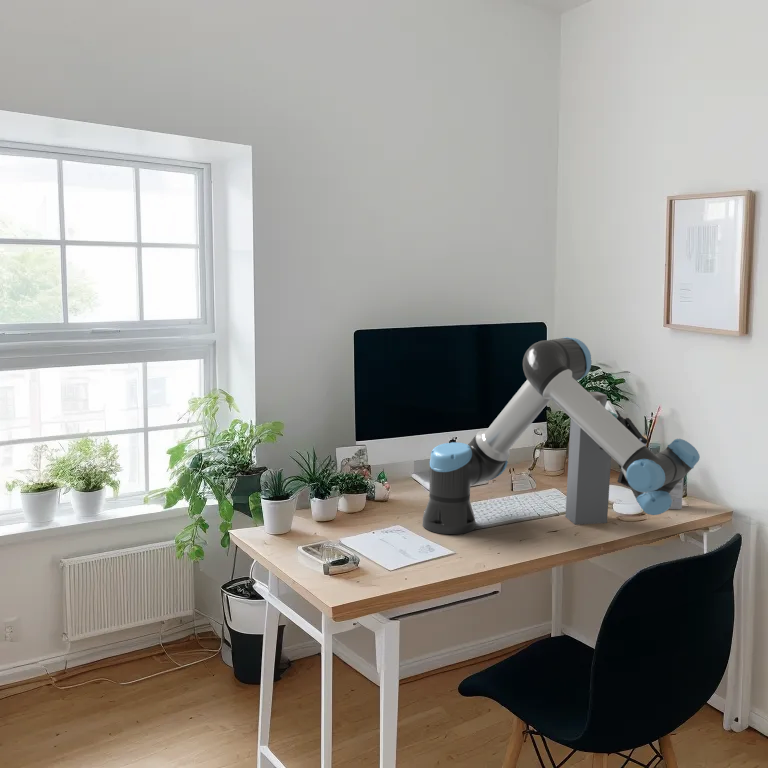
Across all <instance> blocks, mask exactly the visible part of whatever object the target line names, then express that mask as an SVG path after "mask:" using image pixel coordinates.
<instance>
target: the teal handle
mask: <svg viewBox="0 0 768 768" xmlns="http://www.w3.org/2000/svg"><path fill="white" fill-rule="evenodd" d="M588 392H589V393H590V394H591V395H592V396H593V397H594V398H595V399H596V400H597V401H599V402H600V403H601V405H602V406H603V407H605V405H606V403H607V401H608V400H607V399H608V395H607V394H605V393H602V392H599V391H588ZM609 412H610V411H609ZM610 413H611V414H612V415H613V416H614V417H615V418H616V419H617V414H615V413H613V412H610Z"/></svg>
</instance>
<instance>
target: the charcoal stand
mask: <svg viewBox="0 0 768 768" xmlns="http://www.w3.org/2000/svg"><path fill="white" fill-rule="evenodd" d="M569 425H570V426H569V427H570V428H569V442H568V443H569V445H568V464H567V465H568V466H567V480H566V481H567V482H566V497H565V498H566V499H565V500H566V503H565V518H567V519H568V520H569V521H570V522H572V523H573V524H574V525H591V524H592V525H593V524H594V525H595V524H607V523H608V517H609V516H608V513H609V512H608V511H609V498H610V484H611V483H610V481H611V467H612V466H611V464H612V457H611V456H610V455H609V454H608V453H607V452H606V451H605V450H604V449H603V450H602V449H600V446H599V445H598V444H597V443H596V442H595V441H594V440H593V439H592V438H591V437H590V436H589V435H588V434H587V433H586V432H585V431H584V430H583V429H582V428H581V427H580V426H579V425H578V424H577V423H575V422H574V421H573V420H572V419H571V418H570V424H569Z"/></svg>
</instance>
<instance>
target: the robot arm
mask: <svg viewBox="0 0 768 768" xmlns="http://www.w3.org/2000/svg"><path fill="white" fill-rule="evenodd" d="M591 367H592V354H591V351H590V349H589V347H588V346H587V345H586V344H585V342H583V341H582V340H581V339H578V338H575V337H568V336H567V337H566V336H565V337H562V338H561V337H560V338H555V339H554V338H553V339H546V340H539V341H538V342H535V343H533V344H531V345H530V346H529V348H528V349H527V350H526V351H525V353H524V355H523V359H522V369H523V373H524V376H525V378H526V381H524V383H523V384H522V385H521V387H520V388H519V389H518V390H517V392H515V394H514V395H513V396H512V398H511V399H510V400H509V401H508V403H507V404H506V405H505V406H504V408H503V409H502V410H501V412H500V413H499V414H498V415H497V417H496V418H495V419H494V420H493V421H492V423H491V424H490V425H489V427H488V428H486V430H485V429H484V430H479V431H477V433H476V434H475V435H474V436H473V438H472V439H471V441H469V442H468V444H467V443H464V442H455V441H452V442H444V443H440V444H438V445H437V446H435V447H433V449H432V450H431V452H430V459H429V498H428V502H427V504H426V506H425V511H424V513H423V516H422V527H423V528H425V530H428V531H430V532H433V533H436V534H441V535H442V534H443V535H460V534H467V533H470V532H472V531H473V530H474V529H475V528H476V517H475V514H474V510H473V506H472V503H471V487H472V486H474V485H476V484H480V483H483V482H486V481H490V480H494V479H496V478H498V477H499V476H501V475H502V474H504V473H503V472H505V470H506V469H507V466H508V463H509V461H508V460H509V458H510V455H511V451H510V450H511V448H512V447H513V445H514V444H515V443H516V442H517V441H518V439H519V438H520V437H521V436H522V435H523V434H524V432H525V431H527V429H528V428H529V427H530V425H531V424H532V423H533V422H534V421H535V419H537V418H538V416H539V415H540V414H541V412H542V411H543V409H544V408H545V407H547V405H548V404H549V403H550V401H553V402H554V403H555V404H556V405H557V406H558V407H559V408H560V409H561V410H562V411H563V412H564V413H565V414H566V416H568V417H569V418H570V420H571V419H572V420H573V421H574V422H575V423H577V424H578V425H579V426H580V427H581V428H582V429H583V430H584V431H585V432H586V433H587V434H588V435H589V436H590V437H591V438H592V439H593V440H594V441H595V442H596V443H597V444H598V445H599V446H600V449H602V450H603V449H604V450H605V451H606V452H607V453H608V454H609V455H610V456H611V459H613V460H614V461H615V462H616V463H617V464H618V467H619V469H620V471H621V470H622V472H623V474H624V476H625V478H626V480H627V482H628V484H629V486H630V487H629V488H630V490H631V491H632V493H633V496H634V497H635V499H636V502H637V503H638V505H639V506H640V508H641V509H642V510H643V512H644V513H645V514H647V515H651V516H657V515H661V514H663V513H666V512H667V511H668V510H670V509H669V508H670V507H671V503H672V499H671V495H670V494H669V493H670V492H671V491H672V490H673V488H674V487H675V486H676V485H677V483H678V482H679V481H680V480H681V479H682V478H683V477H684V478H685V476H686V475H688V474H689V472H690V471H691V470H692V469H694V467H695V465H697V463H698V462H699V460H701V459H700V453H699V451H698V450H697V448H695V446H694V445H693V444H691V443H690V442H688V441H687V440H685V439H681V438H676V439H674V440H673V441H671V443H669V444H667V447H666V448H665V449H664V450H663V451H662V450H661V451H660V452H657V453H654V452H653V451H652V450H651V449H649V447H647V444H648V441H649V440H648V439H647V438H646V437H644V435H642V434H641V432H640V430H639V429H638V428H637V426H636V425H635V424H634V423H633V422H632V420H631V418H629V417H626V418H623V417H622V416H621V414H620V412H619V410H617V409H615V407H614V406H613V404H612V402H611V401H610V400H607V403H606V405H605V407H603V406H602V405H601V403H600V402H599V401H597V400H596V399H595V398H594V397H593V396H592V395H591V394H590V393H589V392H590V391H588V390H587V389H586V388H584V387H583V386H582V385H581V384H580V382H578V381H579V380H582V379H583V378H585V377H586V376H587V375H588V374H589V372H590V370H591ZM609 411H610V412H613V413H615V414H617V419H616V418H615V417H614V416H613V415H612V414H611V413H610V412H609Z"/></svg>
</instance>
